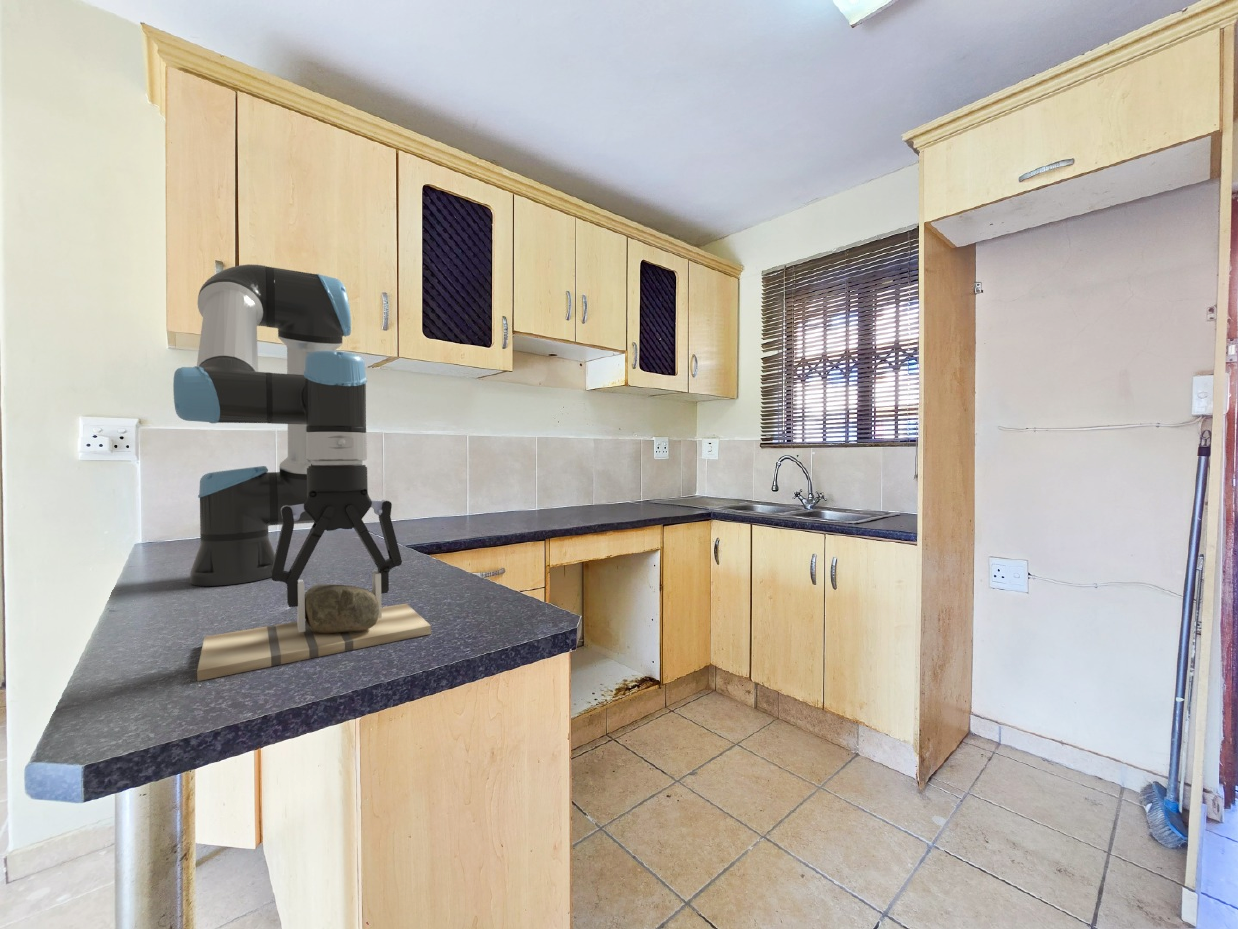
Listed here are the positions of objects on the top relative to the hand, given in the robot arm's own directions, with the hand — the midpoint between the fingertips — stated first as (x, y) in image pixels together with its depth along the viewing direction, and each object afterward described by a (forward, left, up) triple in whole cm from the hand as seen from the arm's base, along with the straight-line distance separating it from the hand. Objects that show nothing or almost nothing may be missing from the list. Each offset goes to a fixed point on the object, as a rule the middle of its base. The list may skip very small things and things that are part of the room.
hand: (340, 622), depth 74 cm
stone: (-1, 0, -1) cm, 2 cm away
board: (0, -3, -2) cm, 3 cm away
